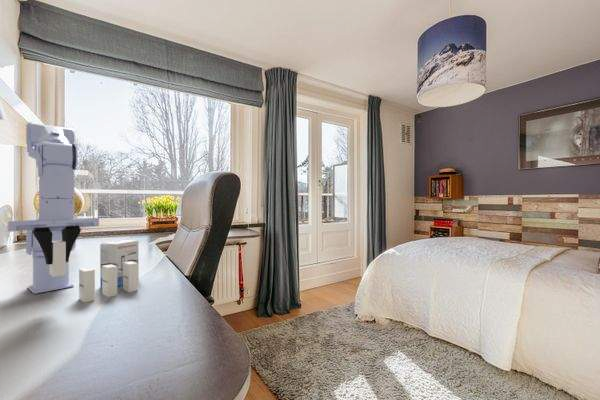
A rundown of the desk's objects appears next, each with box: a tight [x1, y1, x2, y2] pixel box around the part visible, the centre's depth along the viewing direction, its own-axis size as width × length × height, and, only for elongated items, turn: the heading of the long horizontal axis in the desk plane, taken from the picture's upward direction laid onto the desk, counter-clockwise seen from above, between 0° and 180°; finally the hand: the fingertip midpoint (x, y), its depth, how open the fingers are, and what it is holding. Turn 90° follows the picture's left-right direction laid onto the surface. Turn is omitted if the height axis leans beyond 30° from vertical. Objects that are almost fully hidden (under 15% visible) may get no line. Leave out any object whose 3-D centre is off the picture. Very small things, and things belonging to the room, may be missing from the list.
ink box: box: [99, 239, 139, 288], centre depth 78 cm, size 9×5×12 cm, turn 168°
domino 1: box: [49, 240, 66, 277], centre depth 60 cm, size 4×2×7 cm, turn 50°
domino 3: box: [101, 264, 118, 298], centre depth 69 cm, size 4×2×7 cm, turn 51°
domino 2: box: [78, 267, 96, 303], centre depth 65 cm, size 4×2×7 cm, turn 51°
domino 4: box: [122, 261, 139, 293], centre depth 72 cm, size 4×2×7 cm, turn 51°
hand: (57, 262), depth 60 cm, fingers closed on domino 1, 2 cm apart
